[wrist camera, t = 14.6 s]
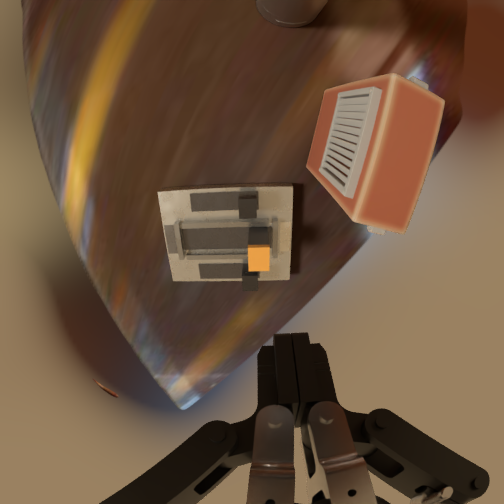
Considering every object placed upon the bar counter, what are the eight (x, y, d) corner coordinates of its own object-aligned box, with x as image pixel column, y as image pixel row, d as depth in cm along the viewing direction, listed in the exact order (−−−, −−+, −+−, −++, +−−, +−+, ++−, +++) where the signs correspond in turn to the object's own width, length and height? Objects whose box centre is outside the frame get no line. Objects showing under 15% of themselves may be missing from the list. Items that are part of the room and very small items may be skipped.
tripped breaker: (248, 228, 41) (247, 247, 36) (267, 227, 41) (269, 247, 36) (249, 249, 43) (248, 271, 37) (267, 249, 43) (269, 271, 37)
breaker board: (161, 188, 41) (149, 199, 36) (291, 183, 40) (296, 193, 35) (176, 274, 48) (168, 293, 43) (288, 273, 48) (291, 292, 43)
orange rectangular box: (364, 94, 33) (340, 184, 40) (320, 79, 33) (297, 173, 40) (454, 91, 14) (405, 250, 21) (386, 52, 14) (336, 234, 21)
